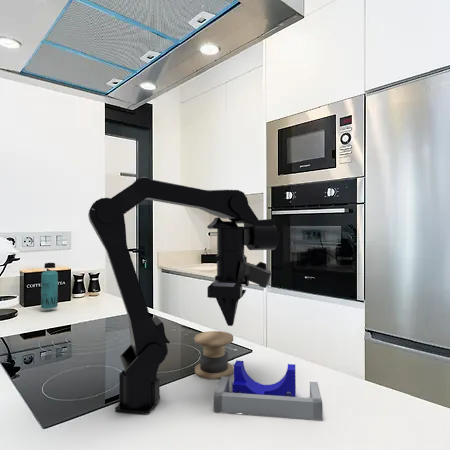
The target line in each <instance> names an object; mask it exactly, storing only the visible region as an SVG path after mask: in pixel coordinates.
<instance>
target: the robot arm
mask: <svg viewBox="0 0 450 450" xmlns="http://www.w3.org/2000/svg"><path fill="white" fill-rule="evenodd" d="M144 200H147V201H153V202H159V203H165V204H169V205H170V204H171V205H175V206H182V207H187V208H194V209H199V210H201V211H203V212H205V213H208V214H210V215H212V216H215V217H214V219H213V220H212V221H211V222H210V223H209V224H208V225H207V227H206V228H207V229H208V230H216V235H217V236H216V255H215V256H214V261H215V262H216V275H215V276H214V281H212V282H210V284H209V285H208V286H207V298H209V299H216V300H215V301H216V302H217V304H218V306H219V309H220V310H221V313H222V316H223V318H224V320H225V322H226V324H227V325H226V326H228V327H233V325H234V323H235V318H236V314H237V308H238V306H239V305H238V303H239V301H240V299H241V298H243V297H244V295H245V293H246V291H247V290H246V289H243V285H244V286H245V287H249V285H250V283H254V284H255V285H258V286H259V287H261V288H263V289H264V288H265V289H266V288H267V287H268V284H269V281H270V278H271V277H272V273H273V272H272V271H271V270H269V269H268V268H267V263H265V262H262V261H259V262H257V264H254V263H251V262H248V260H247V256H246V254H245V246H246V248H247V249H248V250H249V251H274V250H276V249H277V247H278V246H279V243H280V233H279V231H278V227H277V226H276V225H275V219H273V218H266V219H259V218H258V217H257V215H256V214H255V212H254V211H253V209H252V207H251V205H249V204H250V203H249V201H248V197H247V196H246V194H245V192H244V191H241V190H239V189H209V190H208V189H202V188H197V187H193V186H192V187H191V186H186V185H182V184H177V183H170V182H167V181H162V180H161V181H160V180H156V179H152V178H149V177H147V176H141V177H139V178H137V179H136V180H134V181H133V182H132V183H131V185H128V186H127V187H125V188H124V189H122V190H121V191H119V192H118V193H117V194H115V195H114V196H112V197H101V198H99V199H97V200H95V201H94V202H93V203H92V204H91V206H90V207H89V209H88V216H87V217H88V220H89V223H90V225H91V227H92V229H93V230H94V232H95V233H96V235H97V237H98V238H99V241H100V242H101V244H102V246H103V248H104V249H105V252H106V254H107V257H108V259H109V263H110V265H111V269H112V272H113V276H114V279H115V282H116V284H117V287H118V290H119V293H120V296H121V299H122V303H123V305H124V308H125V311H126V314H127V317H128V326H129V327H128V329H129V338H130V344H129V346H128V347H127V348H126V349H125V350H124V351H123V352H122V353H121V354H120V356H119V358H120V361H121V364H122V368H123V370H122V371H121V372H119V374H118V375H119V379H118V381H119V382H118V383H119V388H118V389H119V390H118V393H119V394H118V396H119V398H118V399H119V401H118V404H117V405H116V406H115V408H114V411H115V412H116V413H117V412H118V413H119V412H120V413H121V412H122V413H130V414H142V415H143V414H144V415H148V414H150V413H151V411H152V410H153V409H154V407H155V406H156V405H157V403H158V402H159V401H160V399H161V395H160V392H161V390H160V387H161V386H160V381H161V380H160V378H159V377H158V370H159V368H160V366H161V364H162V363H163V362H164V361H165V359H166V357H167V355H168V352H169V351H168V350H169V349H168V345H169V344H170V343H171V341H169V339H168V338H167V336H166V331H165V325H164V322H163V321H162V320H161V319H160V318H159V317H158V316H157V315H155V316H154V317H152V316H151V313H150V311H149V309H148V305H147V303H146V300H145V296H144V293H143V290H142V287H141V284H140V281H139V278H138V276H137V272H136V269H135V265H134V263H133V259H132V256H131V253H130V251H129V247H128V242H127V231H126V230H127V227H126V221H125V220H126V219H125V214H127V213H128V212H129V211H131V210H132V209H134V208H135V207H136V206H137V205H139V204H141V202H143V201H144ZM222 219H224V220H222ZM225 219H226V220H225ZM228 220H229V221H228ZM239 224H241V225H242V224H243V226H239Z"/></svg>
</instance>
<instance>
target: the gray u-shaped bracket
mask: <svg viewBox="0 0 450 450" xmlns="http://www.w3.org/2000/svg"><path fill="white" fill-rule="evenodd" d="M322 399H323V398H322V395H321V391H320V387H319V383H318V381H309V397H301V396H300V397H299V396H296V397H288V396H273V395H258V394H243V393H233V392H230V376H228V377H225V376H222V377H221V379H219V382H218V384H217V386H216V388H215V391H214V394H213V413H218V412H223V413H222V414H232V413H242V414H241V415H245V414H251V415H250V416H258V415H260V416H259V417H270V418H271V417H274V418H287V419H296V420H297V419H298V420H312V421H323V415H324V414H323V400H322ZM224 412H226V413H224Z"/></svg>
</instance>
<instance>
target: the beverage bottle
mask: <svg viewBox="0 0 450 450" xmlns="http://www.w3.org/2000/svg"><path fill="white" fill-rule="evenodd" d="M55 268H56V263H55V262H45V263H44V269H55ZM40 274H41V282H40V288H41V289H40V296H41V297H40V307H41V309H42V310H43V309H44V310H48V309H56V308H57V307H58V305H59V300H58V299H59V292H58V291H59V277H58V276H59V273H58V272H57V271H56V270H44V271H43V272H42V273H40Z"/></svg>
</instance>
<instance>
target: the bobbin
mask: <svg viewBox="0 0 450 450" xmlns="http://www.w3.org/2000/svg"><path fill="white" fill-rule="evenodd" d="M233 341H234V335H233V334H232V333H229V332H227V331H219V330H216V331H215V330H213V331H212V330H211V331H210V330H209V331H202V332H200V333H197V334H196V335H195V336H194V343H196V344H197V345H199V346H200V345H201V346H203V347H202V350H203V351H201V352H200V357H199V360H200V363H197V364H196V365H195V366H194V373H195V376H198V377H199V378H201V379H207V380H220V379H221V377H222V376H225V377H230V376H232V375H234V365H233V364H232V363H229V356H228V355H229V353H228V352H227V350H226V347H225V346H226V345H230V344H232V342H233Z"/></svg>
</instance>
